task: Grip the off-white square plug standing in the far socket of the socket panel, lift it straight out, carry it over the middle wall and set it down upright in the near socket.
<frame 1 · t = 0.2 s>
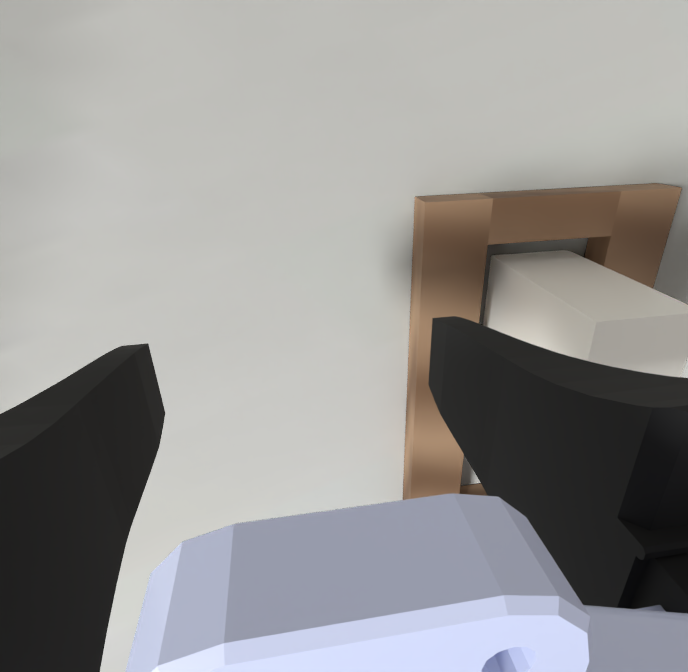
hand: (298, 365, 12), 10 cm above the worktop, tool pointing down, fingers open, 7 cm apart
plug: (523, 290, 23), resting in socket panel
socket panel: (510, 374, 25), on the worktop
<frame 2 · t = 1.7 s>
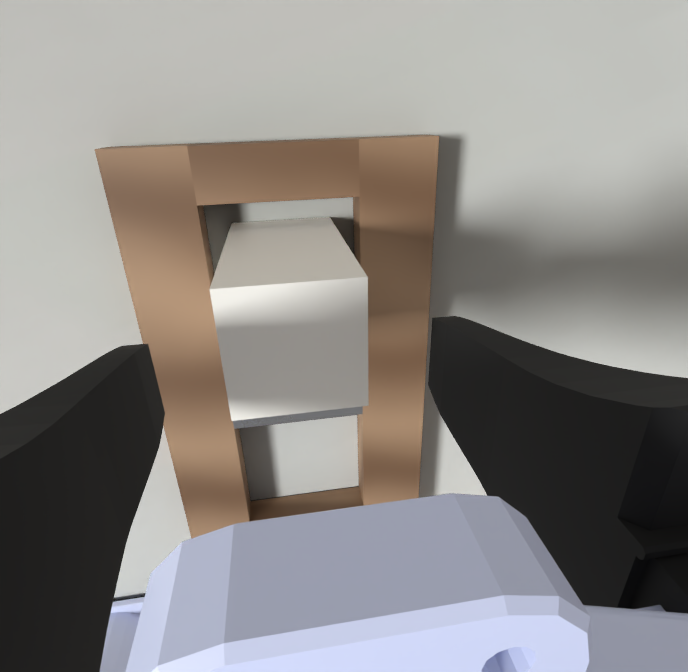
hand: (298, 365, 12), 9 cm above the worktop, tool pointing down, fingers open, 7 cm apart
plug: (285, 266, 19), resting in socket panel
socket panel: (294, 368, 22), on the worktop
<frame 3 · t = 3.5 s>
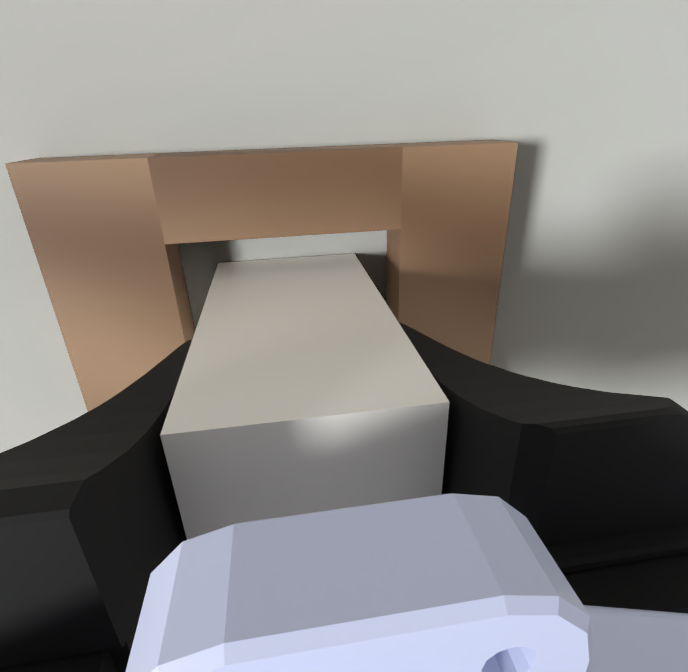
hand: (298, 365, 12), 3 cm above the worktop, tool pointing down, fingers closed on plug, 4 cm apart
plug: (292, 319, 14), resting in socket panel, touching gripper
socket panel: (303, 446, 16), on the worktop
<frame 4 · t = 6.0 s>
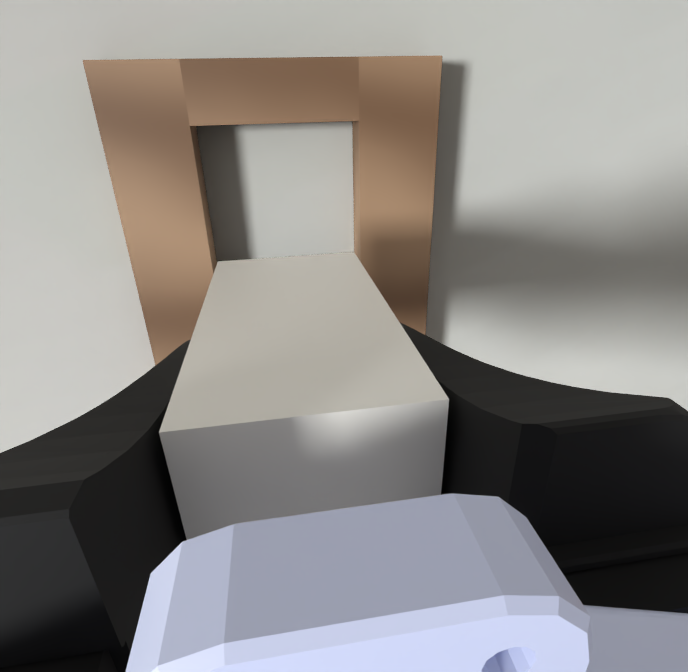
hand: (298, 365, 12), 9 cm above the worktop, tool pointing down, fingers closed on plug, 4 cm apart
plug: (292, 318, 14), point 6 cm above the worktop, touching gripper
socket panel: (291, 313, 21), on the worktop
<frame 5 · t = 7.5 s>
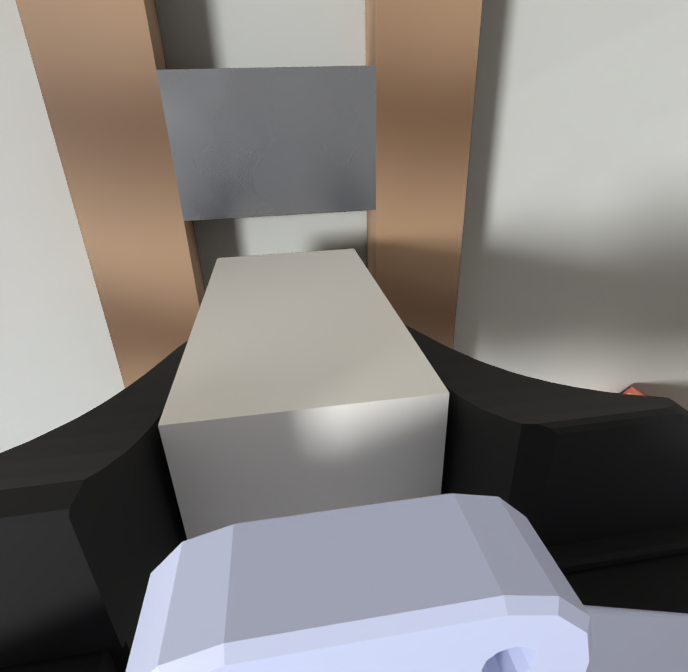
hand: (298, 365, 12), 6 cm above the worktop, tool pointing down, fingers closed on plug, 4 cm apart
plug: (292, 315, 14), point 3 cm above the worktop, touching gripper
socket panel: (275, 143, 15), on the worktop
when the fingers open (4 cm above the worktop, at t = 8.8 s): plug stays where it is, resting in socket panel.
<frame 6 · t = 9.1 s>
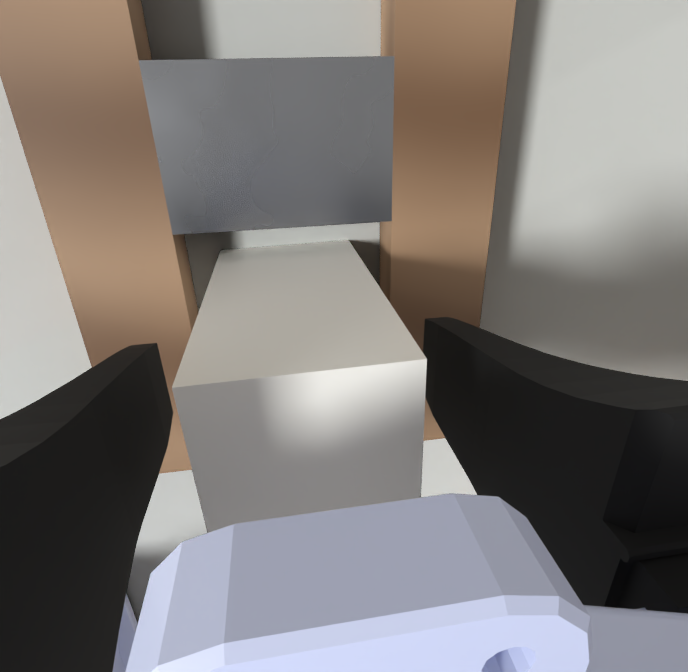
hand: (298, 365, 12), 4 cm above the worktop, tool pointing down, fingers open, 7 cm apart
plug: (291, 304, 15), resting in socket panel
socket panel: (277, 146, 13), on the worktop
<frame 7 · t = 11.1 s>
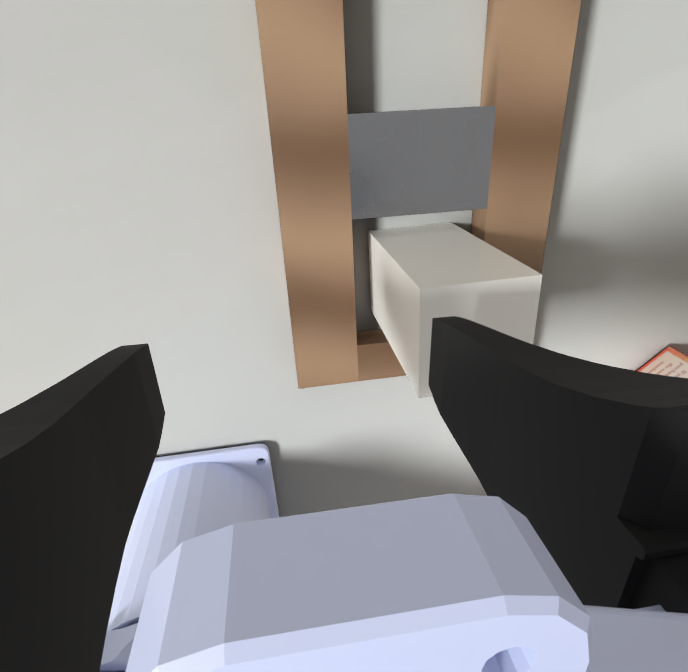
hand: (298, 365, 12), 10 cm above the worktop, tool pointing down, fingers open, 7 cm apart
plug: (409, 267, 22), resting in socket panel
socket panel: (411, 161, 20), on the worktop
cracker box: (669, 431, 30), on the worktop
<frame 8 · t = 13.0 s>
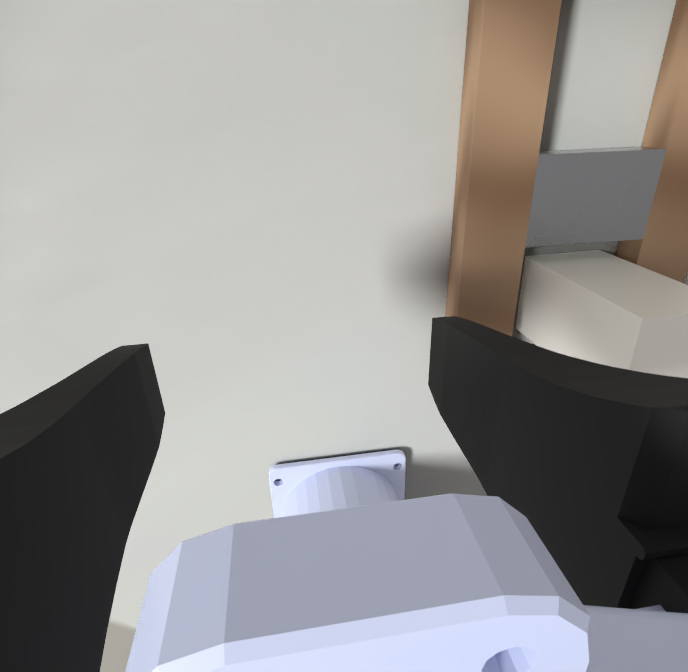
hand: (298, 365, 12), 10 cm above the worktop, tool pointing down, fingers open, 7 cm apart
plug: (556, 289, 24), resting in socket panel
socket panel: (574, 194, 22), on the worktop
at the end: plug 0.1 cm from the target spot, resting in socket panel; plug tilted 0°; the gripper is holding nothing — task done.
